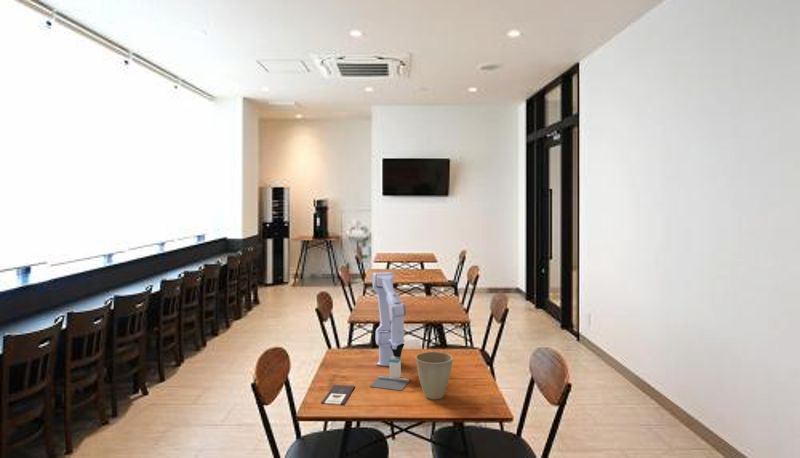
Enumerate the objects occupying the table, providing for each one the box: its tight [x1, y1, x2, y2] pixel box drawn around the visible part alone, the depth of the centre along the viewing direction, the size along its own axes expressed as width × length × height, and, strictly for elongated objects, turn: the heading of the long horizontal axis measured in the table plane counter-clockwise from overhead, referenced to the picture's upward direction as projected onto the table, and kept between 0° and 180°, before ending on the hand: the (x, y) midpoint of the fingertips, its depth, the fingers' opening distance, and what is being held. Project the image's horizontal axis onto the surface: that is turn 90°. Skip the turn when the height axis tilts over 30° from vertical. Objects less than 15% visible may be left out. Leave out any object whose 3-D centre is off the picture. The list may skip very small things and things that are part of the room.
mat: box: [369, 379, 409, 392], centre depth 209 cm, size 9×14×1 cm, turn 73°
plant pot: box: [415, 351, 454, 400], centre depth 197 cm, size 15×15×16 cm
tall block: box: [388, 356, 402, 378], centre depth 216 cm, size 4×4×9 cm
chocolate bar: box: [321, 384, 356, 406], centre depth 198 cm, size 9×1×18 cm
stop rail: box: [376, 375, 410, 383], centre depth 214 cm, size 2×14×1 cm, turn 73°
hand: (397, 360), depth 219 cm, fingers closed
